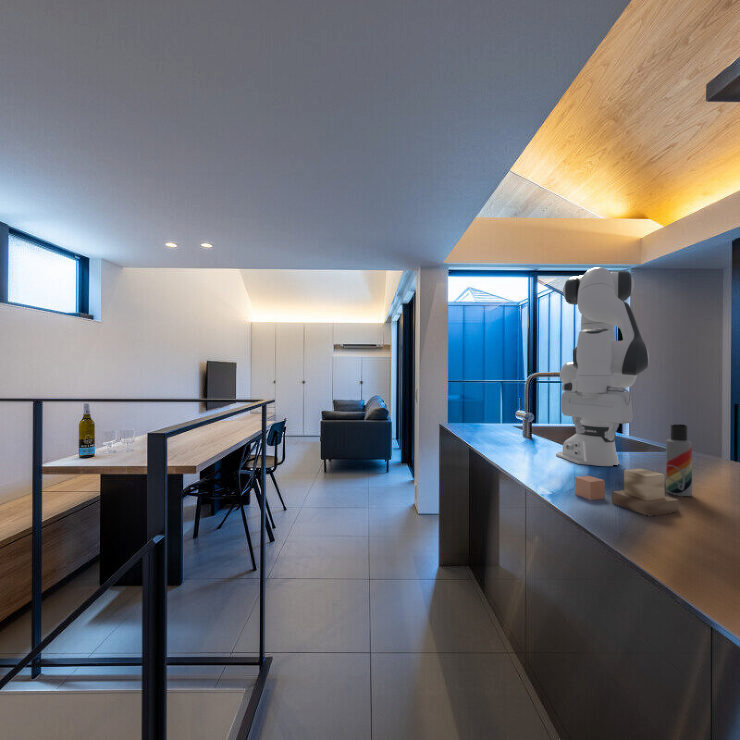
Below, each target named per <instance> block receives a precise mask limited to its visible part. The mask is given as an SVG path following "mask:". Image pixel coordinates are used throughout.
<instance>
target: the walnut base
mask: <svg viewBox="0 0 740 740" xmlns="http://www.w3.org/2000/svg"><path fill="white" fill-rule="evenodd" d="M611 503H612V504H614V505H616V506H619V507H623V508H624V509H627V508H628V510H630V509H631V511H633V512H636V513H638V512H639V513H638V514H641V513H642V514H641V515H644V516H646V515H648V516H647V517H649V516H650V517H654V516H653V515H656V516H661V515H660V514H663V515H668V514H667V513H669V514H673V513H672V512H676V513H679V512H680V499H677V498H674V497H671V496H667V495H664V498H661V499H654V500H644V499H641V498H638V497H635V496H632V495H629V494H626V493H624V489H621V490H614V491H611ZM678 511H679V512H678Z"/></svg>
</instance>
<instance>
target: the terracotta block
mask: <svg viewBox="0 0 740 740" xmlns="http://www.w3.org/2000/svg"><path fill="white" fill-rule="evenodd" d="M574 481H575V486H574V487H575V496H578V497H582V498H584V499H586V500H589V501H594V500H602V499H605V494H606V492H605V491H606V487H605V486H606V485H605V484H606V483H605V479H602V478H601V479H600V478H598V477H594V476H592V475H583V476H582V475H581V476H575V479H574Z"/></svg>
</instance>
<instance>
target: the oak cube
mask: <svg viewBox="0 0 740 740" xmlns="http://www.w3.org/2000/svg"><path fill="white" fill-rule="evenodd" d="M623 472H624V476H623V477H624V479H623V483H624V484H623V486H624V487H623V488H624V489H623V490H624V493H626V494H629V495H632V496H635V497H638V498H641V499H644V500H654V499H661V498H664V496H665V474H664V473H661V472H657V471H653V470H649V469H645V468H633V469H625V470H624V471H623Z"/></svg>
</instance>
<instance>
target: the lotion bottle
mask: <svg viewBox="0 0 740 740" xmlns="http://www.w3.org/2000/svg"><path fill="white" fill-rule="evenodd" d="M688 427H689V425H687V424H681V423H680V424H678V423H676V424H670V432H669V433H670V434H669V437H670V438H668V439H666V440H665V443H666V444H665V445H666V446H665V449H666V450H665V452H666V454H665V456H666V457H665V459H666V460H665V461H666V462H665V464H666V465H665V466H666V467H665V468H666V469H665V470H666V473H665V474H666V475H665V478H666V480H665V481H666V483H665V486H666V488H665V489H666V490H665V491H666V492H667V494H669V493H670V495H672V494H673V496H676V495H678V496H677V497H683V496H689V497H692V493H693V462H692V461H693V443H692V442H691V441H690V440H688V439H689V434H688V431H689V430H688Z"/></svg>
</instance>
